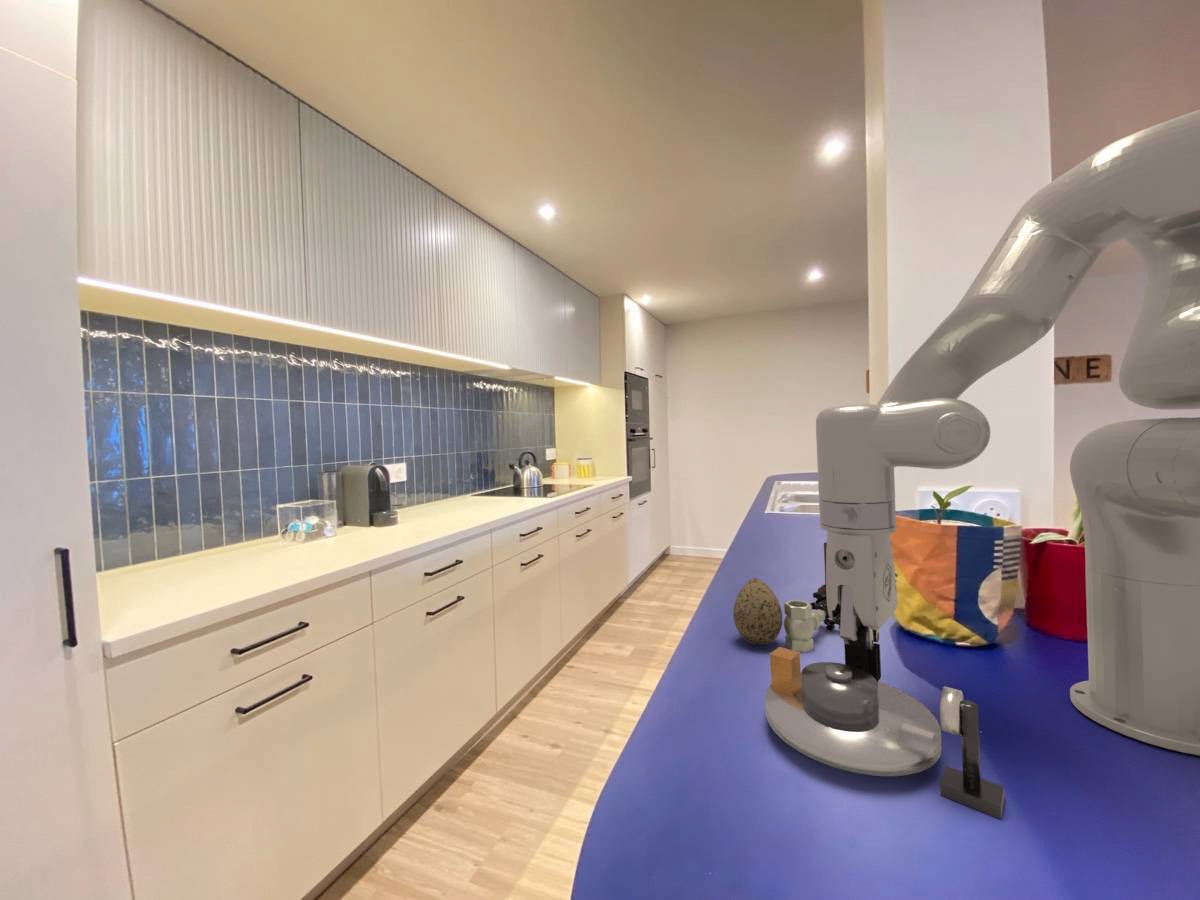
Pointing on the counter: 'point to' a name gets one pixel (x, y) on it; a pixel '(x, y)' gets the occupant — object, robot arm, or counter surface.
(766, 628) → the decorative egg
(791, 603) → the valve
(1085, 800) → the counter surface
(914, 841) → the counter surface
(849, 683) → the cover
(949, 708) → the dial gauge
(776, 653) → the turntable
